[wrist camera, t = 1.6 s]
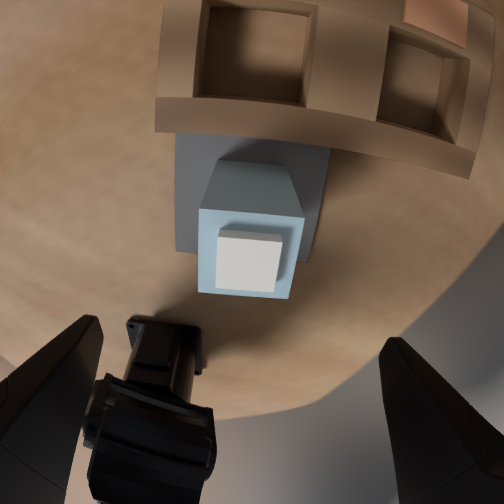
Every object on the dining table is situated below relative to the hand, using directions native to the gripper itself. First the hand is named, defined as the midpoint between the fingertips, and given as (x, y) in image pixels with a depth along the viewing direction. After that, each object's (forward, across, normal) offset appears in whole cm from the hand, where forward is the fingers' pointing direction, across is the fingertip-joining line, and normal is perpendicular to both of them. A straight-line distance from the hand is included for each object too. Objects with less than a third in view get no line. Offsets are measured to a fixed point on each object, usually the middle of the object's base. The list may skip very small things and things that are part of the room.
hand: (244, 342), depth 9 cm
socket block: (+12, -4, -9) cm, 16 cm away
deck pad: (+12, 0, 0) cm, 12 cm away
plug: (+12, 0, 0) cm, 12 cm away
